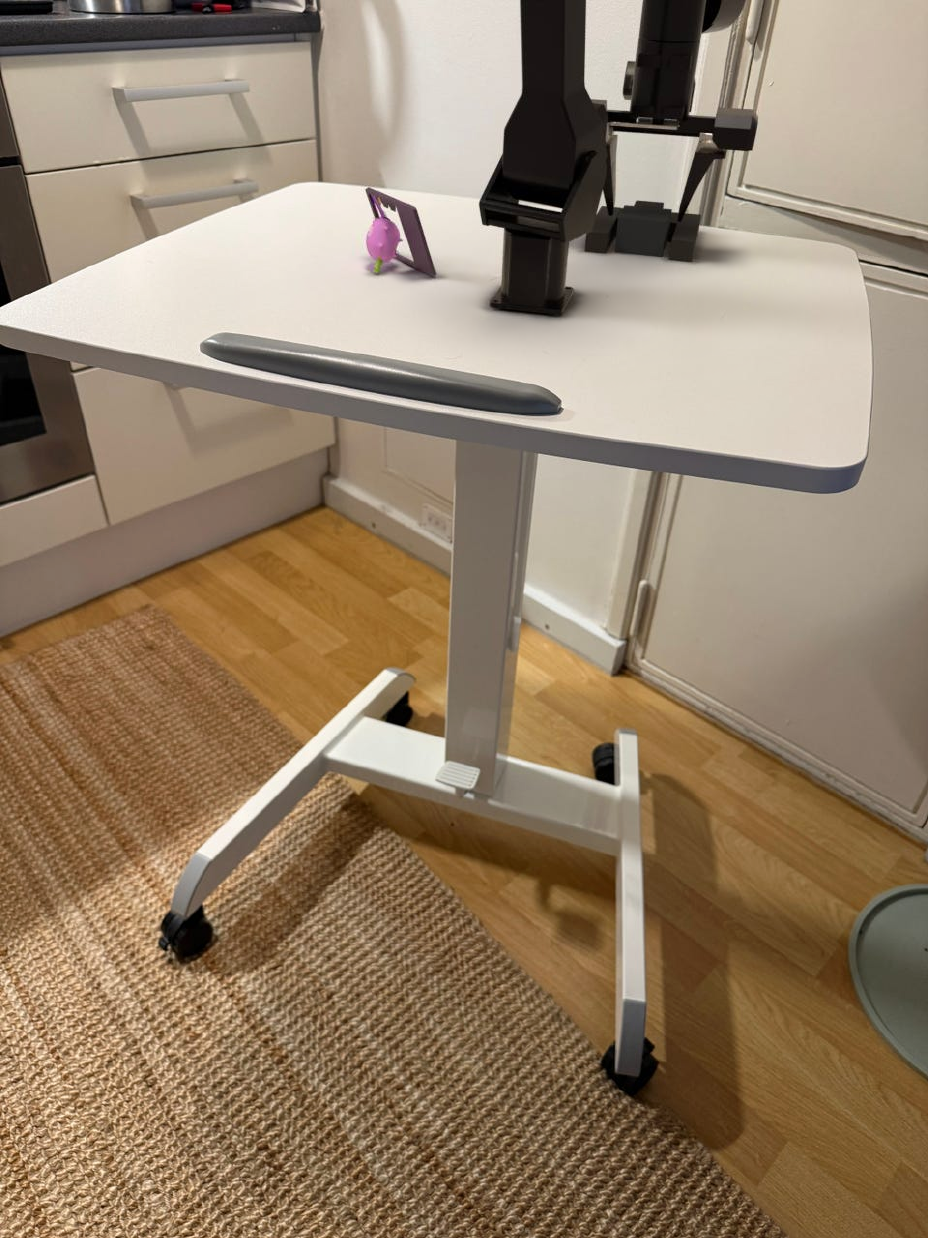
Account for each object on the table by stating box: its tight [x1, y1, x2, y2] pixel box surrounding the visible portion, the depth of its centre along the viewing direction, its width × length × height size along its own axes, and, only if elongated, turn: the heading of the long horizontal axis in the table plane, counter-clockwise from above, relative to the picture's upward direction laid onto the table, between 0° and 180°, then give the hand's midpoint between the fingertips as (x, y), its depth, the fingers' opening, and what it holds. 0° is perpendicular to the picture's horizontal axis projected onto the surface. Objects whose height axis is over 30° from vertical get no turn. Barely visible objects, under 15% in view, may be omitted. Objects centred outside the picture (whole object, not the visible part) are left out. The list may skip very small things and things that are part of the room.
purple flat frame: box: [365, 186, 437, 278], centre depth 86 cm, size 7×5×9 cm
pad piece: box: [613, 200, 673, 257], centre depth 95 cm, size 8×5×4 cm, turn 165°
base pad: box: [583, 205, 702, 262], centre depth 96 cm, size 11×11×2 cm
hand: (644, 217), depth 93 cm, fingers open, 7 cm apart
